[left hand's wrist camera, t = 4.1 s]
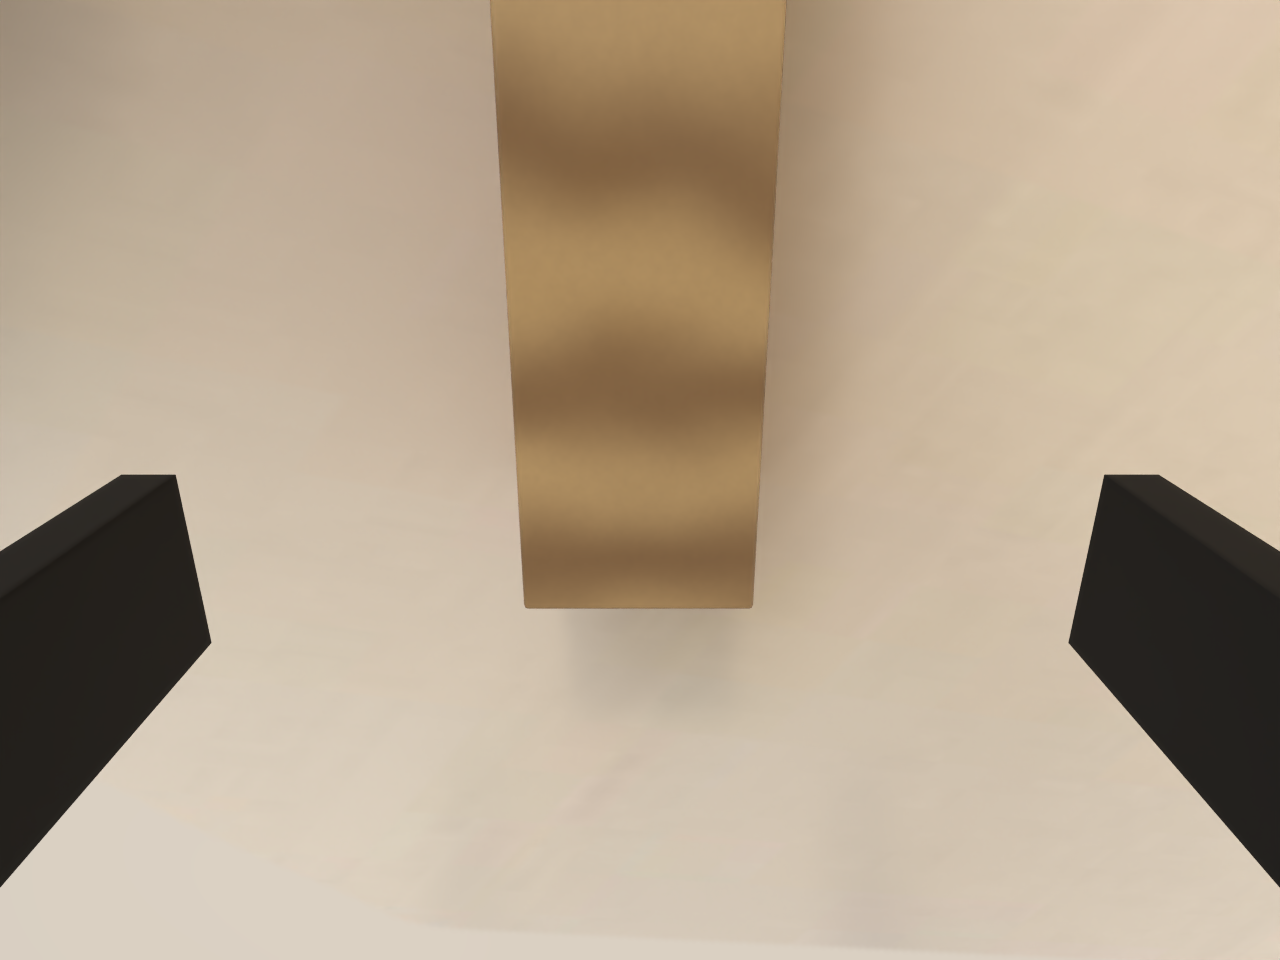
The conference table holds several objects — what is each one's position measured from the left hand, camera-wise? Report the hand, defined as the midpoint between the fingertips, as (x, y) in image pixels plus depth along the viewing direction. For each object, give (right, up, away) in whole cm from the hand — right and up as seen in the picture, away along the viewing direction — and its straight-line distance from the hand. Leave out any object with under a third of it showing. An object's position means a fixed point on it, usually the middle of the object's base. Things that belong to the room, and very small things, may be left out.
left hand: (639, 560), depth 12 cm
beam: (0, +36, +2) cm, 36 cm away
